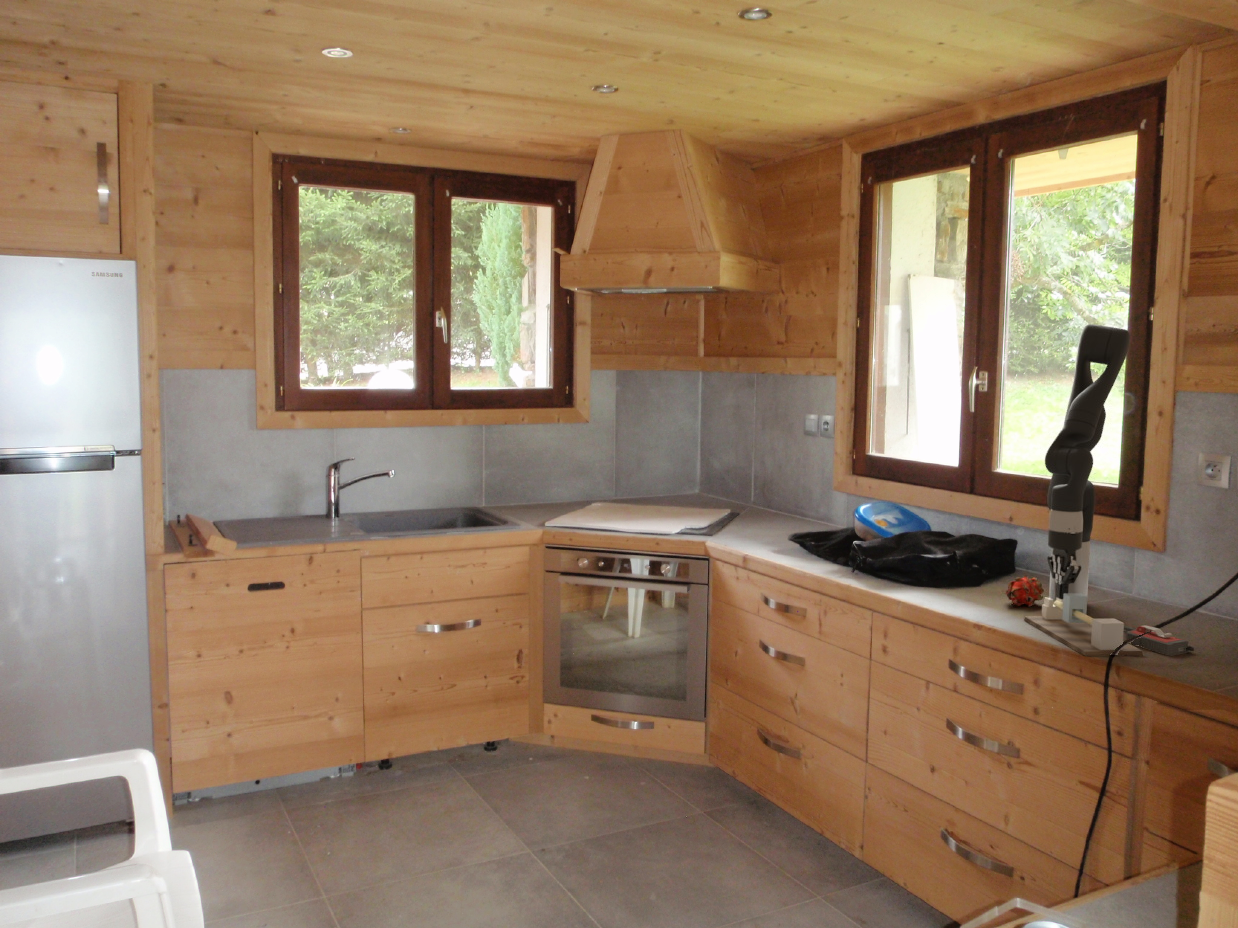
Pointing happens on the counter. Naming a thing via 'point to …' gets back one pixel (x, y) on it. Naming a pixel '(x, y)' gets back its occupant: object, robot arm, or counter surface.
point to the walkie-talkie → (1157, 640)
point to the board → (1076, 636)
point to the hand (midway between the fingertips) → (1062, 598)
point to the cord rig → (1103, 630)
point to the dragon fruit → (1024, 591)
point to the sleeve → (1073, 606)
